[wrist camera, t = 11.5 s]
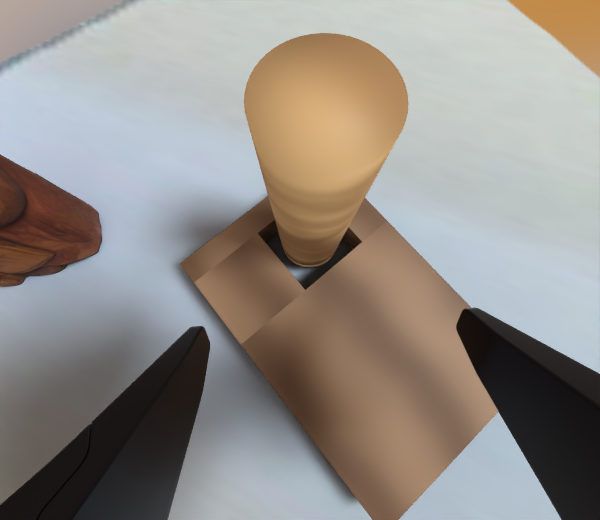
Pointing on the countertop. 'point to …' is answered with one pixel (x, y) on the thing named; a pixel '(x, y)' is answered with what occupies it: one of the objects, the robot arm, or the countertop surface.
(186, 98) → the countertop surface
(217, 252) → the walnut board
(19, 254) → the wooden figurine
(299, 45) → the oak peg
